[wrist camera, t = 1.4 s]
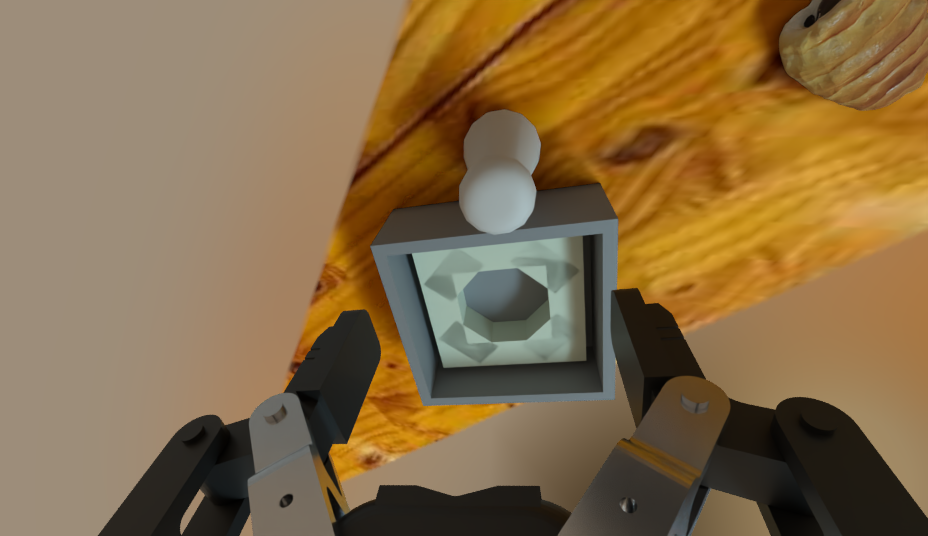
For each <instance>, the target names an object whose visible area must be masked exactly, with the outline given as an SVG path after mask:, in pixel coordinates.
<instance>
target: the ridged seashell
mask: <svg viewBox="0 0 928 536" xmlns="http://www.w3.org/2000/svg"><path fill="white" fill-rule="evenodd" d="M927 9H928V0H812V2H811V3H810V5H809V6H808V7H806V8H805V9H802V10H801V11H799V12H798V13H797V14H795V15H794V16H793V17H792V18H791V19H790V21H789V22H788V23H786V24H785V26H784V28H783V30H782V32H781V35H780V37H779V52H780V55H781V59H782V63H783V66H784V69H785V71H786V73H787V74H788V75H789V76H790V77H792V78H794V79H795V80H797V81H798V82H799V83H800V84H802V85H803V86H805V87H806V88H807V89H808V90H809V91H810V92H812V93H813V94H817V95H819V96H821V97H823V98H825V99H829V100H831V101H834V102H836V103H838V104H840V105H844V106H847V107H851V108H855V109H857V110H862V111H864V110H875V109H879V108H882V107H885V106H888V105H890V104H892V103H893V102H895V101H897V100H898V99H900V98H901V97H903V96H904V95H905V94H907V93H910V92H912V91H914V90H916V89H918V88H919V87H920V86H922V83H923V81H924V79H925V75H926V73H927V72H928V13H927Z"/></svg>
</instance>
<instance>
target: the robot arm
mask: <svg viewBox="0 0 928 536" xmlns="http://www.w3.org/2000/svg"><path fill="white" fill-rule="evenodd" d="M610 330H611V340H612V346H613V350H614V354H615V357H616V360H617V364H618V367H619V370H620V374H621V377H622V380H623V384H624V388H625V391H626V394H627V398H628V401H629V405H630V408H631V411H632V415H633V418H634V422H635V425H636V428H637V429H636V431H635V432H634V434H633V436H632V437H631V438H630V439H629V440H627V439H625V438H623V439H621V440H620V441H619V442H618V443H617V445H616V446H615V448H614V449H613V451H612V452H611V454H610V455H609V457H608V458H607V460H606V461H605V463H604V464H603V466H602V468H601V469H600V471H599V472H598V474H597V475H596V477H595V479H594V480H593V482H592V483H591V485H590V486H589V488H588V489H587V491H586V492H585V494H584V496H583V497H582V499H581V500H580V502H579V503H578V505H577V506H576V508H575V509H574V511H573V512H572V513H571V512H569V511H568V510H566V509H564V508H562V507H561V506H558V505H556V504H554V503H551V502H548V501H545V500H542V499H541V492H540V486H496V487H492V488H488V489H484V490H480V491H476V492H472V493H468V494H464V495H461V496H451V495H447V494H444V493H441V492H437V491H434V490H430V489H427V488H424V487H420V486H416V485H413V486H412V485H406V486H405V485H401V486H400V485H380V486H379V490H378V493H377V497H376V499H375V500H372V501H369V502H366V503H364V504H362V505H360V506H358V507H356V508H354V509H353V510H351V511H350V509H349V506H348V504H347V501H346V498H345V495H344V492H343V490H342V486H341V483H340V480H339V478H338V475H337V472H336V469H335V466H334V463H333V460H332V457H331V455H330V454H329V451H330V449H331V446H332V444H347V442H348V440H349V437H350V435H351V432H352V430H353V427H354V425H355V422H356V420H357V417H358V415H359V412H360V409H361V407H362V404H363V402H364V399H365V397H366V394H367V392H368V389H369V387H370V384H371V382H372V379H373V376H374V374H375V371H376V369H377V366H378V364H379V361H380V356H381V348H380V343H379V340H378V338H377V335H376V332H375V330H374V327H373V324H372V322H371V319H370V316H369V314H368V312H367V311H366V310H352V311H343V312H342V313H341V314H340V316H339V318H338V319H337V321H336V323H335V324H334V326H333V327H329V328H328V329H326V330H325V331H324V332H323V333H322V334H321V335H320V336H319V337H318V338H317V339H316V341H315V342H314V344H313V346H312V347H311V351H309V352H308V354H307V355H306V357H305V360H303V362H302V364H301V365H300V367H299V368H298V370H297V372H296V373H295V375H294V377H293V378H292V380H291V381H290V383H289V385H288V386H287V388H286V390H285V391H284V393H281V394H278V395H275V396H272V397H270V398H269V399H267V400H265V401H264V402H263V403H261V404H260V405H259V406H258V407H257V408H256V409H255V410H254V412H253V413H252V415H251V417H250V418H248V419H245V420H241V421H238V422H235V423H232V424H228V425H224V423H223V422H222V420H221V419H220V418H219V417H218V416H216V415H205V416H202V417H199V418H196V419H195V420H192V421H191V422H189V423H187V424H186V425H185V426H183V427H182V428H181V429H180V430H179V431H178V432H177V433H176V434H175V435H174V436H173V437H172V438H171V440H170V441H169V442H168V444H167V445H166V446H165V448H164V449H163V450H162V452H161V453H160V454H159V456H158V457H157V458H156V459H155V461H154V462H153V464H152V465H151V466H150V468H149V469H148V470H147V471H146V473H145V474H144V475H143V477H142V478H141V479H140V481H139V482H138V483H137V485H136V486H135V487H134V489H133V490H132V491H131V493H130V494H129V495H128V496H127V498H126V499H125V500H124V502H123V503H122V504H121V506H120V507H119V508H118V510H117V511H116V513H115V514H114V515H113V517H112V518H111V519H110V520H109V522H108V523H107V524H106V526H105V527H104V528H103V530H102V531H101V532H100V534H99V535H98V536H239V535H240V533H241V531H242V529H243V527H244V525H245V523H246V521H247V519H248V517H249V515H250V513H251V520H252V529H253V536H691V534H692V532H693V529H694V527H695V525H696V522H697V520H698V518H699V515H700V513H701V511H702V508H703V506H704V504H705V501H706V499H707V497H708V494H709V492H710V490H711V488H712V489H715V490H719V491H722V492H726V493H729V494H732V495H736V496H739V497H743V498H746V499H749V500H753V501H756V502H757V505H758V507H759V509H760V512H761V514H762V516H763V519H764V521H765V523H766V526H767V528H768V530H769V533H770V535H771V536H928V518H927V517H926V515H925V514H924V513H923V511H922V510H921V509H920V507H919V506H918V505H917V503H916V502H915V501H914V499H913V498H912V497H911V496H910V494H909V493H908V492H907V490H906V489H905V488H904V486H903V485H902V484H901V482H900V481H899V480H898V478H897V477H896V476H895V474H894V473H893V472H892V470H891V469H890V468H889V466H888V465H887V464H886V462H885V461H884V460H883V458H882V457H881V456H880V454H879V453H878V452H877V450H876V449H875V448H874V446H873V445H872V444H871V443H870V441H869V440H868V439H867V437H866V436H865V434H864V433H863V432H862V430H861V429H860V428H859V426H858V425H857V424H856V423H855V422H854V420H852V419H851V418H850V417H849V416H848V415H847V414H845V413H844V412H843V411H841V410H840V409H838V408H836V407H834V406H832V405H830V404H828V403H825V402H823V401H819V400H816V399H812V398H806V397H793V398H789V399H786V400H783V401H782V402H780V403H779V404H778V405H777V408H776V410H774V409H769V408H764V407H759V406H754V405H749V404H745V403H741V402H738V401H735V400H733V399H730V398H728V397H727V395H726V394H725V392H724V391H723V390H722V389H721V388H719V387H718V386H717V385H715V384H713V383H712V382H710V381H708V380H706V378H705V376H704V375H703V373H702V371H701V369H700V367H699V365H698V363H697V362H696V359H695V357H694V356H693V354H692V352H691V350H690V348H689V346H688V344H687V342H686V340H685V339H684V336H683V334H682V333H681V331H680V329H678V325H677V323H676V321H675V319H674V317H673V315H672V314H671V313H670V312H669V311H668V310H666V309H665V308H664V307H662V306H661V305H660V304H659V303H654V304H645V303H644V300H643V298H642V296H641V294H640V291H639V290H638V288H632V289H619V290H612V291H611V322H610ZM199 489H200V490H201V491H202V492H203V493H204V494H205V497H204V498H203V500H202V502H201V503H200V505H199V507H198V508H197V510H196V512H195V514H194V515H193V517H192V518H191V520H190V522H189V524H188V525H187V527H186V529H185V530H184V532H183V534H182V535H181V534H180V523H181V520H182V517H183V515H184V513H185V512H186V510H187V509H188V507H189V505H190V504H191V502H192V500H193V499H194V497H195V496H196V494H197V492H198V491H199Z"/></svg>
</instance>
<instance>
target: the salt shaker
mask: <svg viewBox="0 0 928 536" xmlns="http://www.w3.org/2000/svg"><path fill="white" fill-rule="evenodd" d="M540 148H541V142H540V140H539V137H538V134H537V131H536V128H535V127H534V126H533V125H532V124H531V123H530V122H529V121H528V120H527V119H526V118H525V117H524V116H523V115H522V114H520V113H516V112H513V111H509V110H506V109H503V110H498V111H492V112H487V113H486V114H485V115H483V116H482V117H481V118H479V119H478V120H477V121H475V122H474V123H473V124H472V125H471V127H470V129H469V131H468V133H467V135H466V137H465V139H464V159H465V162H466V166H467V169H468V171H467V172H466V174H465V176H464V178H463V180H462V182H461V183H460V185H459V205H460V208H461V210H462V212H463V214H464V217H465V219H466V221H468V222H469V223H470V224H471V225H473V226H474V227H475V228H476V229H478V230H479V231H482V232H486V233H489V234H493V235H497V234H504V233H510V232H512V231H514V230H515V229H517V228H519V227H521V226H522V225H524V224H525V222H526V221H527V219H528V218H529V216H530V215H531V213H532V212H533V209H534V205H535V198H536V187H535V184H534V182H533V179H532V176H531V175H532V173H533V171H534V169H535V167H536V165H537V164H538V162H539V156H540Z"/></svg>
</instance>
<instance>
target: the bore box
mask: <svg viewBox="0 0 928 536" xmlns="http://www.w3.org/2000/svg"><path fill="white" fill-rule="evenodd" d="M370 247H371V250H372V253H373V256H374V259H375V262H376V265H377V268H378V271H379V274H380V277H381V280H382V283H383V286H384V289H385V292H386V295H387V298H388V301H389V304H390V307H391V310H392V313H393V316H394V319H395V322H396V325H397V328H398V331H399V334H400V337H401V340H402V343H403V346H404V349H405V352H406V355H407V358H408V361H409V364H410V367H411V370H412V373H413V376H414V379H415V382H416V385H417V388H418V391H419V394H420V397H421V400H422V403H423V406H432V405H463V404H493V403H524V402H555V401H583V400H584V401H585V400H613V399H615V354H614V350H613V346H612V340H611V330H610V322H611V291H612V290H617V250H618V218H617V216H616V214H615V212H614V210H613V208H612V206H611V204H610V202H609V200H608V198H607V196H606V194H605V192H604V190H603V188H602V186H601V184H600V183H596V184H589V185H581V186H573V187H565V188H557V189H549V190H541V191H536V198H535V205H534V209H533V212H532V213H531V215H530V216H529V218H528V219H527V221H526V222H525V224H524V225H522V226H521V227H519V228H517V229H515V230H514V231H512V232H510V233H504V234H497V235H493V234H489V233H486V232H482V231H479V230H478V229H476V228H475V227H474V226H473V225H471V224H470V223H469V222H468V221H466V219H465V217H464V214H463V212H462V210H461V208H460V205H459V201H454V202H447V203H439V204H431V205H423V206H415V207H407V208H399V209H393V211H392V212H391V214H390V216H389V217H388V219H387V220H386V222H385V224H384V225H383V227H382V228H381V230H380V231H379V233H378V235H377V236H376V238H375V239H374V241H373V242H372V244H371V246H370Z"/></svg>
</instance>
